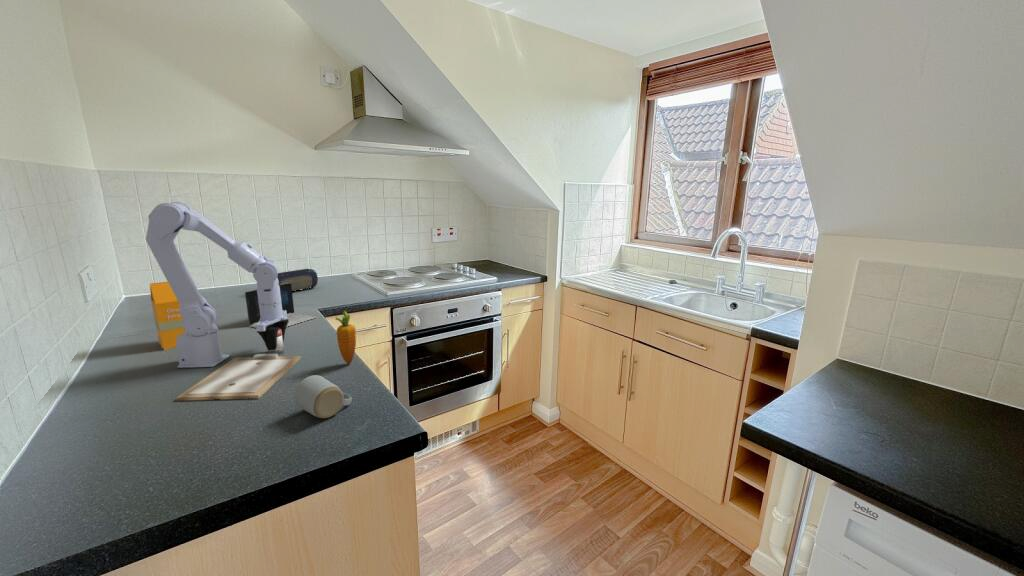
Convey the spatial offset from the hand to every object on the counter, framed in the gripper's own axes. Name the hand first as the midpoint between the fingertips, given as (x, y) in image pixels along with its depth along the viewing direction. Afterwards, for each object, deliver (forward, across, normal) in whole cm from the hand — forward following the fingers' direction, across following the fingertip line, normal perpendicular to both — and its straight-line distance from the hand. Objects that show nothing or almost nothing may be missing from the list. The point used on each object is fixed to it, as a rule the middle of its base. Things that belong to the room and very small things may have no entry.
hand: (275, 346), depth 126 cm
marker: (+2, 0, 0) cm, 2 cm away
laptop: (+2, +31, +11) cm, 33 cm away
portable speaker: (+2, +81, +29) cm, 86 cm away
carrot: (+2, -10, -24) cm, 26 cm away
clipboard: (+2, -17, 0) cm, 17 cm away
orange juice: (+2, +10, +34) cm, 36 cm away
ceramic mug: (+2, -35, -26) cm, 44 cm away
